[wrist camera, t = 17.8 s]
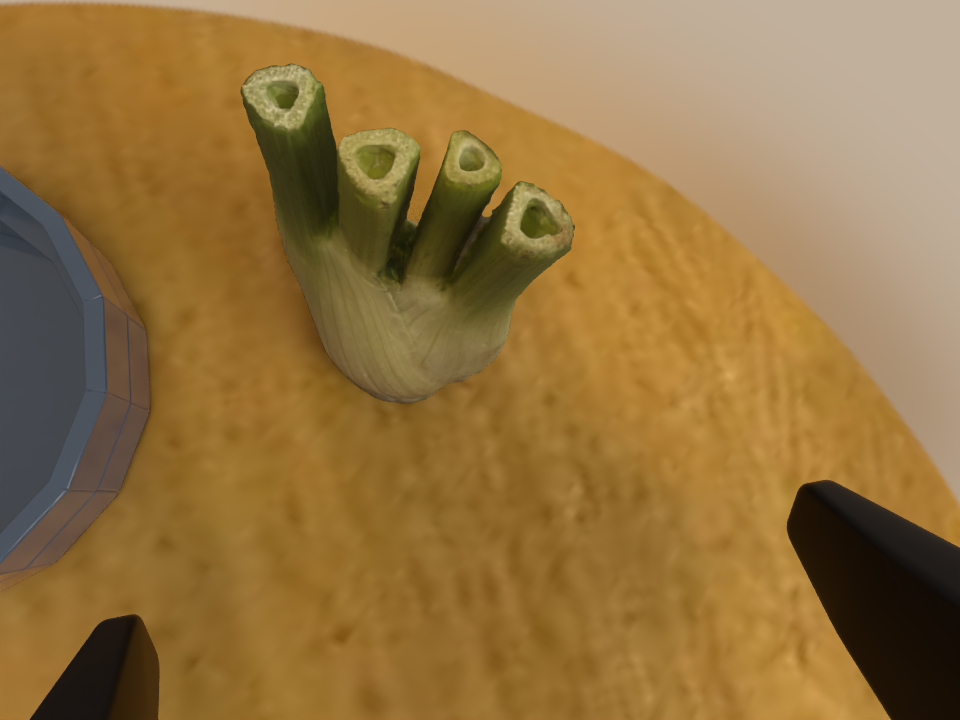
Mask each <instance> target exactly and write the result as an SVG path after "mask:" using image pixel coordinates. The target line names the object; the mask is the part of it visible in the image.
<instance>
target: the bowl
mask: <svg viewBox="0 0 960 720" xmlns="http://www.w3.org/2000/svg"><path fill="white" fill-rule="evenodd" d="M149 409H150V399H149V378H148V357H147V336H146V329H145V327H144V325H143V323H142V321H141V319H140V317H139V315H138V313H137V311H136V309H135V307H134V306H133V304H132V302H131V300H130V298H129V296H128V294H127V292H126V290H125V288H124V286H123V285H122V283H121V281H120V279H119V277H118V275H117V273H116V271H115V269H114V267H113V265H112V264H111V262H110V261H109V260H108V259H107V258H106V257H105V256H104V255H103V254H102V253H101V252H100V251H99V250H98V249H97V248H96V247H95V246H94V245H93V244H92V243H90V242H89V241H88V240H87V239H86V238H85V237H84V236H83V235H82V234H81V233H80V232H79V231H78V230H77V229H76V228H75V227H74V226H73V225H72V224H71V223H70V222H68V221H67V220H66V219H65V218H64V217H63V216H62V215H61V214H60V213H59V212H58V211H56V210H55V209H54V208H53V207H51V206H50V205H49V204H48V203H46V202H45V201H44V200H43V199H41V198H40V197H39V196H38V195H36V194H35V193H34V192H32V191H31V190H30V189H29V188H27V187H26V186H25V185H24V184H22V183H21V182H20V181H19V180H17V179H16V178H15V177H14V176H12V175H11V174H10V173H9V172H7V171H6V170H5V169H3V168H2V167H1V166H0V592H2V591H3V590H5V589H7V588H9V587H11V586H13V585H15V584H17V583H19V582H20V581H22V580H24V579H26V578H28V577H30V576H32V575H34V574H35V573H37V572H39V571H41V570H43V569H45V568H47V567H49V566H50V565H52V564H53V563H54V562H56V561H57V560H58V559H59V558H60V557H61V556H62V555H63V554H64V553H65V552H66V550H67V549H68V548H69V547H70V546H71V545H72V544H73V543H74V542H75V541H76V539H77V538H78V537H79V536H80V535H81V534H82V533H83V532H84V531H85V530H86V528H87V527H88V526H89V525H90V524H91V523H92V522H93V521H94V520H95V518H96V517H97V516H98V515H99V514H100V513H101V512H102V511H103V510H104V509H105V507H106V506H107V505H108V504H109V503H110V502H111V501H112V500H113V499H114V498H115V496H116V495H117V494H118V491H119V490H120V488H121V485H122V483H123V480H124V477H125V475H126V472H127V470H128V467H129V464H130V462H131V459H132V456H133V454H134V451H135V449H136V446H137V443H138V441H139V438H140V435H141V433H142V430H143V428H144V425H145V422H146V420H147V417H148V414H149V411H148V410H149Z"/></svg>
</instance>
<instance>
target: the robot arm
mask: <svg viewBox="0 0 960 720" xmlns="http://www.w3.org/2000/svg"><path fill="white" fill-rule="evenodd" d="M787 532H788V536H789V539H790V541H791V543H792V545H793V547H794V549H795V551H796V553H797V555H798V557H799V559H800V561H801V563H802V565H803V567H804V569H805V571H806V573H807V575H808V577H809V579H810V581H811V583H812V585H813V587H814V589H815V591H816V593H817V595H818V597H819V599H820V601H821V603H822V605H823V607H824V609H825V611H826V613H827V615H828V617H829V619H830V621H831V623H832V624H833V626H834V628H835V630H836V632H837V634H838V635H839V637H840V639H841V640H842V642H843V644H844V645H845V647H846V649H847V650H848V652H849V654H850V655H851V657H852V658H853V660H854V662H855V663H856V665H857V666H858V668H859V669H860V671H861V673H862V674H863V676H864V677H865V679H866V681H867V682H868V684H869V685H870V687H871V689H872V690H873V692H874V693H875V695H876V696H877V698H878V700H879V701H880V703H881V704H882V706H883V708H884V709H885V711H886V712H887V714H888V716H889V717H890V719H891V720H960V548H959V547H958V546H956V545H954V544H952V543H950V542H948V541H946V540H944V539H942V538H940V537H938V536H937V535H935V534H933V533H931V532H929V531H927V530H925V529H923V528H921V527H919V526H918V525H916V524H914V523H912V522H910V521H908V520H906V519H904V518H902V517H900V516H899V515H897V514H895V513H893V512H891V511H889V510H887V509H885V508H883V507H881V506H880V505H878V504H876V503H874V502H872V501H870V500H868V499H866V498H864V497H862V496H860V495H859V494H857V493H855V492H853V491H851V490H849V489H847V488H845V487H843V486H841V485H840V484H838V483H836V482H833V481H830V480H821V481H816V482H811V483H806V484H804V485H802V486H801V487H800V488H799V490H798V492H797V495H796V498H795V501H794V504H793V506H792V509H791V512H790V515H789V518H788V521H787ZM158 705H159V660H158V655H157V652H156V650H155V647H154V645H153V643H152V641H151V638H150V636H149V634H148V632H147V629H146V627H145V625H144V623H143V621H142V619H141V618H140V617H139V616H138V615H136V614H134V615H133V614H132V615H127V616H121V617H116V618H111V619H107V620H104V621H102V622H101V623H100V624H99V625H98V626H97V627H96V628H95V629H94V631H93V632H92V633H91V635H90V636H89V638H88V639H87V640H86V642H85V643H84V645H83V646H82V647H81V649H80V650H79V652H78V653H77V654H76V656H75V657H74V659H73V660H72V661H71V663H70V664H69V665H68V667H67V668H66V670H65V671H64V672H63V674H62V675H61V677H60V678H59V679H58V681H57V682H56V684H55V685H54V686H53V688H52V689H51V691H50V692H49V693H48V695H47V696H46V697H45V699H44V700H43V702H42V703H41V704H40V706H39V707H38V709H37V710H36V711H35V713H34V714H33V716H32V717H31V718H30V720H158Z"/></svg>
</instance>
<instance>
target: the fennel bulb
mask: <svg viewBox="0 0 960 720" xmlns="http://www.w3.org/2000/svg"><path fill="white" fill-rule="evenodd" d="M241 95H242V97H243V104H244V107H245V109H246V112H247V115H248V119H249V122H250V124H251V126H252V128H253V129H254V131H255V133H256V138H257V141H258V144H259V146H260V149H261V152H262V155H263V157H264V160H265V163H266V166H267V169H268V171H269V174H270V181H271V186H272V189H273V201H274V203H275V214H276V221H277V225H278V227H277V228H278V230H279V233H280V235H281V238H282V243H283V246H284V251H285V254H286V256H287V259H288V263H289V264H290V266H291V268H292V270H293V272H294V273H295V275H296V278H297V280H298V282H299V284H300V286H301V289H302V291H303V294H304V297H305V299H306V300H307V303H308V307H309V310H310V312H311V314H312V317H313V321H314V322H315V325H316V329H317V332H318V334H319V336H320V339H321V341H322V343H323V346H324V349H325V351H326V352H327V354H328V355H329V357H330V358H331V360H332V361H333V362H334V364H335V365H336V366H337V367H338V368H339V369H340V370H341V371H342V372H343V373H344V374H345V375H346V376H347V377H348V379H349V380H351V381H352V382H353V383H354V384H355V385H356V386H358V387H359V388H360V389H362V390H363V391H365V392H367V393H368V394H370V395H371V396H373V397H375V398H378V399H381V400H384V401H389V402H397V403H414V402H417V401H421V400H424V399H427V398H428V397H430V396H431V395H433V394H434V393H435V392H437V391H438V390H439V389H440V388H441V387H442V386H445V385H447V384H449V383H453V382H460V381H463V380H465V379H467V378H469V377H470V376H472V375H473V374H476V373H479V372H480V371H481V370H482V369H484V368H485V367H486V366H488V364H490V363H492V362H493V360H494V359H495V358H496V357H497V355H498V354H499V353H500V351H501V349H502V348H503V346H504V344H505V341H506V338H507V336H508V332H509V327H510V320H511V315H512V310H513V307H514V305H515V301H516V299H517V297H518V296H519V295H520V294H521V293H522V292H523V291H524V290H525V289H526V287H527V286H528V285H529V284H530V283H531V282H532V281H533V280H534V279H535V278H536V277H538V276H539V275H540V274H541V273H542V272H543V271H544V270H546V269H547V268H548V267H550V266H551V265H552V264H553V263H554V262H556V260H558V259H560V258H561V257H562V256H564V255H565V254H566V253H568V252H569V251H570V250H571V244H572V238H573V237H574V234H573V231H574V229H575V225H573V222H572V220H571V216H569V215H568V212H567V211H566V210H565V209H564V206H563V204H562V203H561V202H560V201H559V200H555V199H554V198H553V197H551V196H550V195H549V194H547V192H546V191H545V190H543V189H541V188H538V187H536V186H535V185H534V184H531V183H527V182H522V181H520V182H518V183H516V185H515V186H514V187H513V188H512V189H511V190H510V191H509V192H508V193H507V195H506V196H505V198H504V199H503V201H502V202H501V204H500V205H499V206H498V207H497V208H496V209H494V210H492V215H491V216H490V217H484V216H482V212H483V210H484V209H485V206H486V205H487V204H488V203H489V202H490V200H491V196H492V194H493V193H494V191H495V190H496V188H497V187H498V185H499V183H500V180H501V172H502V169H501V162H500V161H499V158H498V157H497V156H496V154H495V153H494V151H493V150H492V149H491V148H490V147H488V146H487V145H486V144H485V143H484V142H482V141H481V140H479V139H478V138H477V137H476V136H474V135H472V134H471V133H469V132H468V131H457V132H453V133H452V135H451V138H450V141H449V145H448V148H447V152H446V154H445V157H444V160H443V163H442V166H441V169H440V172H439V174H438V176H437V179H436V182H435V185H434V187H433V190H432V193H431V195H430V198H429V200H428V201H427V204H426V206H425V209H424V211H423V213H422V217H421V219H420V221H419V223H418V222H415V221H413V220H409V219H407V211H408V209H409V207H410V200H411V197H412V194H413V190H414V183H415V179H416V174H417V169H418V165H419V160H420V150H421V147H420V146H419V145H418V143H417V142H416V141H415V140H414V139H413V138H412V137H410V136H409V135H407V134H405V133H404V132H402V131H399V130H397V129H394V128H385V129H373V130H368V131H360V132H357V133H355V134H351V135H349V136H346V137H344V138H343V139H342V141H341V142H340V143H339V146H338V150H336V143H335V139H334V136H333V133H332V129H331V123H330V118H329V114H328V110H327V105H326V100H325V93H324V87H323V83H321V82H319V81H318V80H317V79H316V78H315V77H314V75H313V74H312V72H311V71H310V70H309V69H308V68H304V67H302V66H299V65H295V64H288V65H286V66H269V67H266V68H263V69H260V70H256V71H254V73H253V74H252V75H250V76H249V77H248V78H247V79H246V81H245V83H244V84H243V85H242V87H241Z"/></svg>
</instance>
